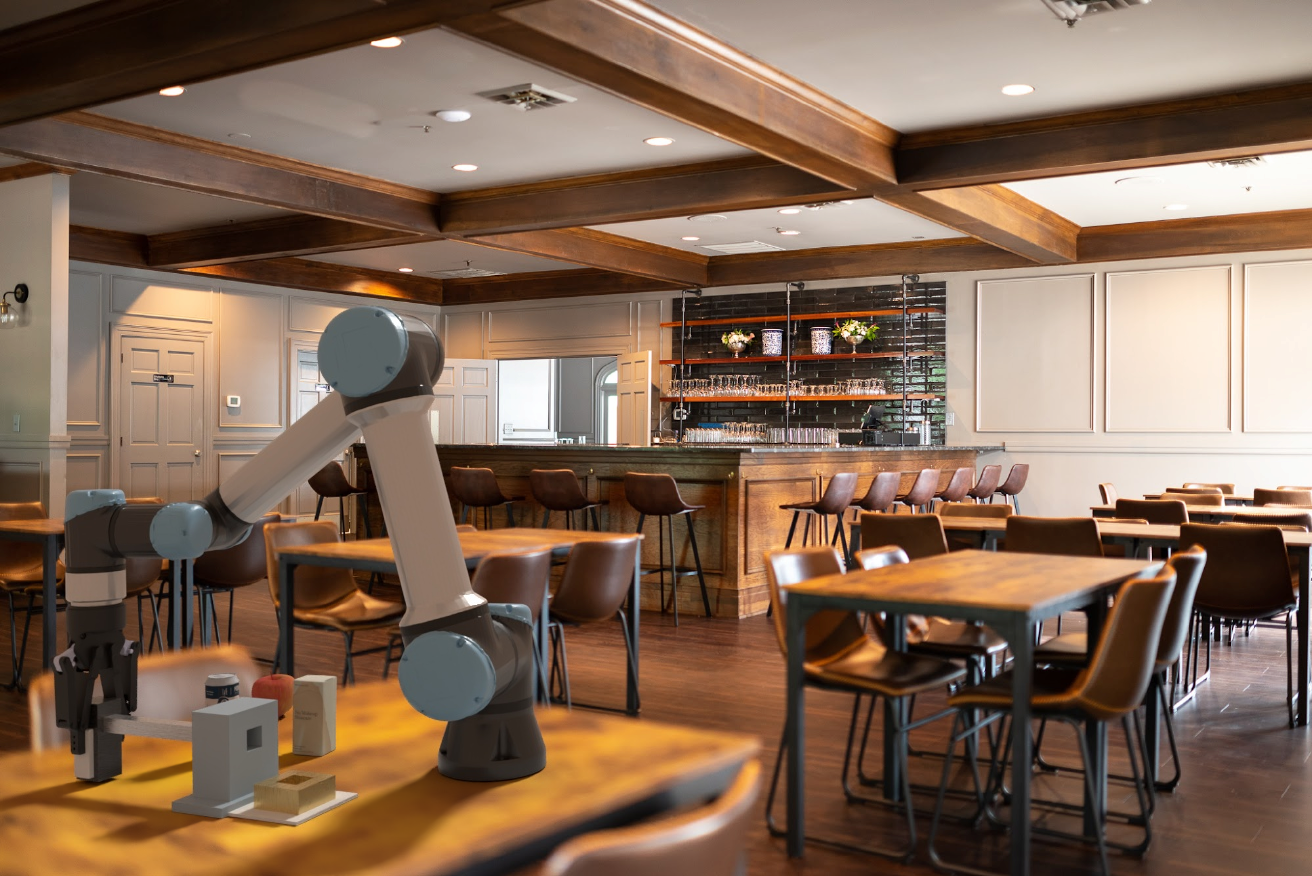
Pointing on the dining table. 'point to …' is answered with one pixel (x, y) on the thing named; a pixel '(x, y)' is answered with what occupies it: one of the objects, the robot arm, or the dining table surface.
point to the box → (314, 715)
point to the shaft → (113, 725)
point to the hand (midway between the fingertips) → (98, 772)
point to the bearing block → (231, 755)
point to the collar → (294, 792)
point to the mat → (291, 819)
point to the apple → (275, 690)
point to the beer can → (221, 688)
